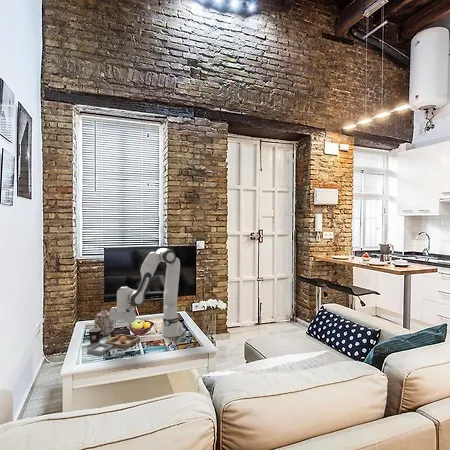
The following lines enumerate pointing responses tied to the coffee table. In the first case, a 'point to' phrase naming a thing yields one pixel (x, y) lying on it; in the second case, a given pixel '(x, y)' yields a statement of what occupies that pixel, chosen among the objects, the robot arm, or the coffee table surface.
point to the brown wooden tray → (129, 341)
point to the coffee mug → (94, 335)
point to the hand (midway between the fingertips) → (122, 326)
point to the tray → (98, 352)
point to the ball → (122, 339)
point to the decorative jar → (104, 323)
